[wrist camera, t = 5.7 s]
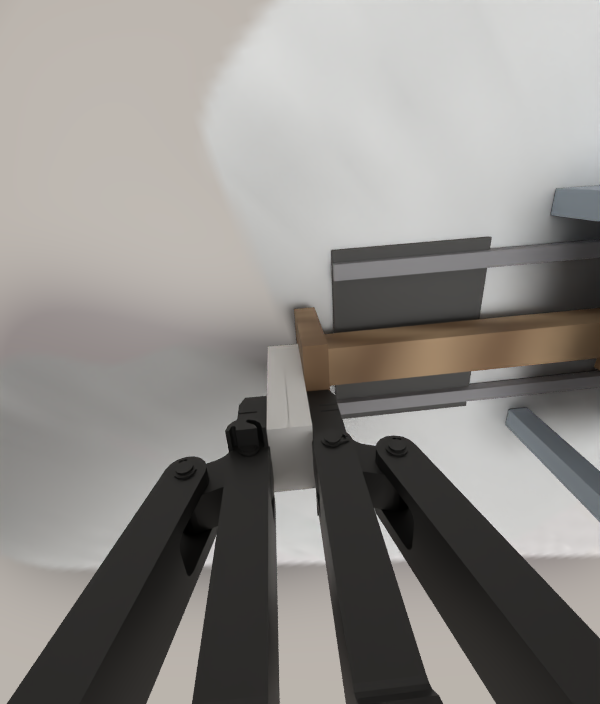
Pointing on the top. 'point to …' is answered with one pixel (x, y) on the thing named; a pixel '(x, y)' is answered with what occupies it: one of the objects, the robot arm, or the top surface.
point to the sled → (443, 346)
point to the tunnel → (553, 451)
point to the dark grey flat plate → (407, 310)
